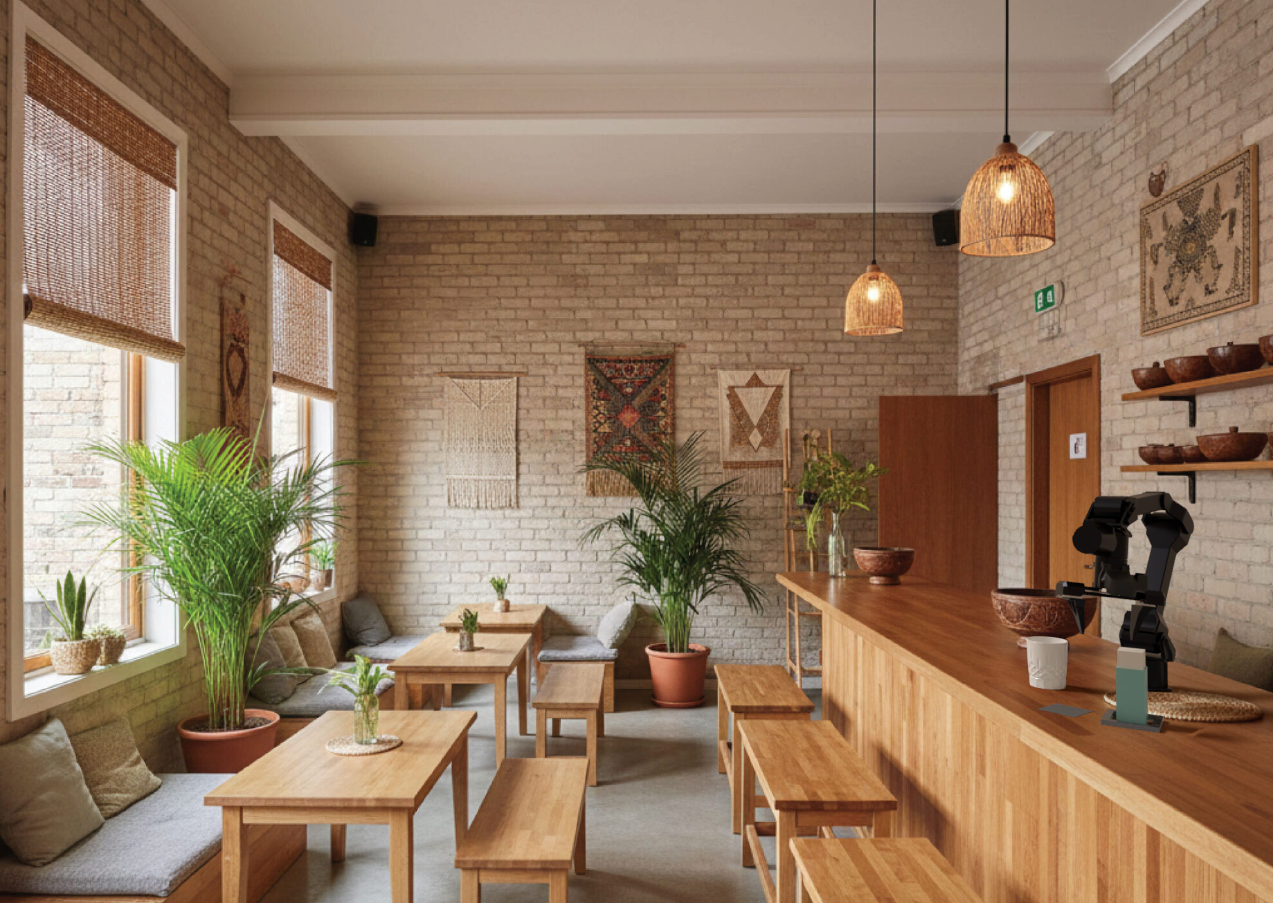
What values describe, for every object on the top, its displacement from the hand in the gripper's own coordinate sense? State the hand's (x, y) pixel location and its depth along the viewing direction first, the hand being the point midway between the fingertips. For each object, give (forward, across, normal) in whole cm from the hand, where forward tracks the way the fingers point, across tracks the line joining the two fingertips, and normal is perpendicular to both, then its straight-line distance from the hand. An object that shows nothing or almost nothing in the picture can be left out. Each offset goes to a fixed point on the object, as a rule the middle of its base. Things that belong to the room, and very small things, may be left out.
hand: (1107, 637), depth 173 cm
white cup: (+12, -8, +10) cm, 18 cm away
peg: (+14, -1, -17) cm, 22 cm away
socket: (+14, -1, -17) cm, 22 cm away
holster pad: (+14, -10, -10) cm, 20 cm away
